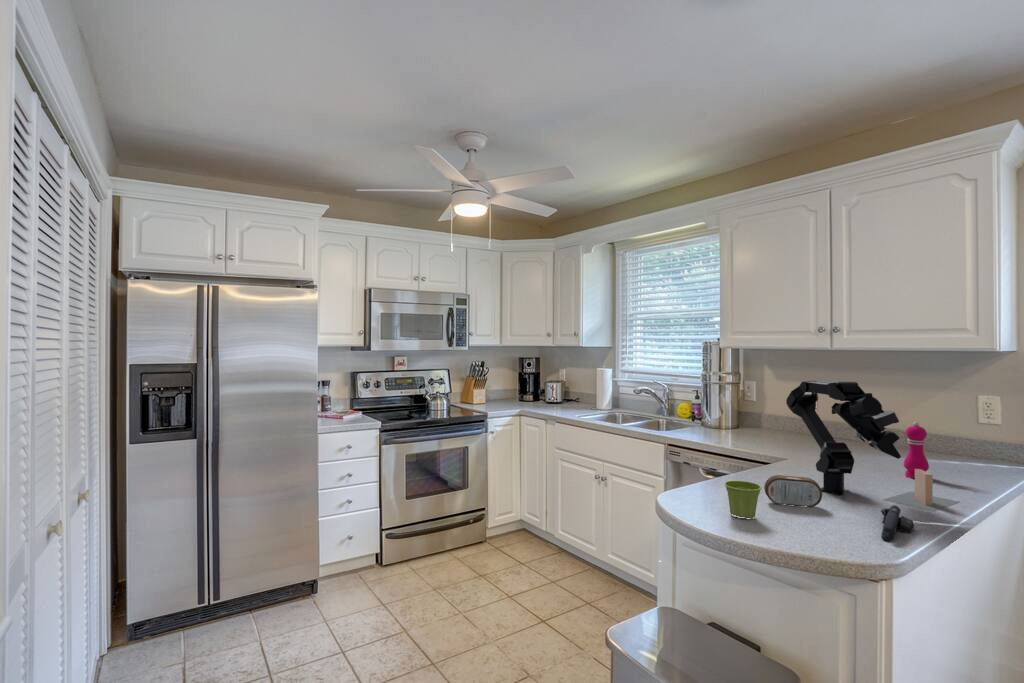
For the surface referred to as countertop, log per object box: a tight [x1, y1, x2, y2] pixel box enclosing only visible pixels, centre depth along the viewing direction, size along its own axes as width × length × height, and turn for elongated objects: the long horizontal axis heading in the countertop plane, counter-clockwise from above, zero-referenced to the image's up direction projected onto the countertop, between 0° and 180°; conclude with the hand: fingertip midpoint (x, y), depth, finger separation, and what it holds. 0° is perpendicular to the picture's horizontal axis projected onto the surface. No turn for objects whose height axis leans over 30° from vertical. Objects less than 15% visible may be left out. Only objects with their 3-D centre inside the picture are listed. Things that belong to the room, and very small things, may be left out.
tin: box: [764, 474, 823, 508], centre depth 155 cm, size 15×3×8 cm, turn 71°
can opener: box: [879, 505, 915, 542], centre depth 132 cm, size 18×7×6 cm, turn 135°
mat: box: [882, 491, 960, 513], centre depth 158 cm, size 18×13×1 cm
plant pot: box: [724, 480, 763, 518], centre depth 144 cm, size 9×9×9 cm
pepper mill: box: [903, 421, 930, 479], centre depth 189 cm, size 7×7×20 cm
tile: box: [914, 469, 934, 506], centre depth 156 cm, size 2×7×9 cm, turn 163°
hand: (899, 457), depth 158 cm, fingers closed
